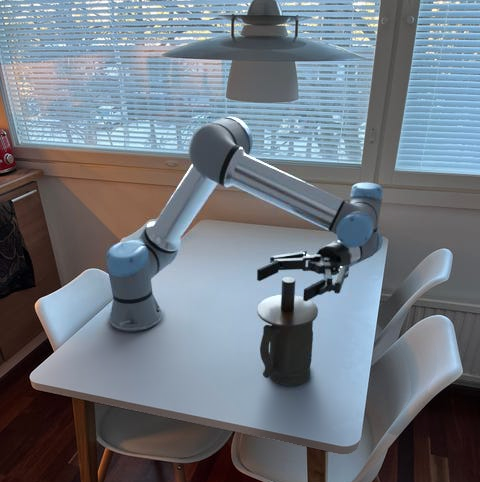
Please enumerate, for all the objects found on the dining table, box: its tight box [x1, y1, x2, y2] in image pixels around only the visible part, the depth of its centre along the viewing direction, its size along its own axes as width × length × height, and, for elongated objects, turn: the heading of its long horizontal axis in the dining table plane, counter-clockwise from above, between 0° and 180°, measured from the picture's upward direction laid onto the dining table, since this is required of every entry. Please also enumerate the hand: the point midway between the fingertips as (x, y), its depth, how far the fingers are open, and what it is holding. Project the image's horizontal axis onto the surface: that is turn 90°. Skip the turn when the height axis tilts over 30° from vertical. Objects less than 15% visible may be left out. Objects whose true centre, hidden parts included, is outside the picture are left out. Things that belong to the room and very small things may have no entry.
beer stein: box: [259, 321, 314, 387], centre depth 115 cm, size 15×11×20 cm
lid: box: [256, 276, 319, 327], centre depth 107 cm, size 14×14×8 cm
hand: (280, 285), depth 104 cm, fingers open, 13 cm apart
